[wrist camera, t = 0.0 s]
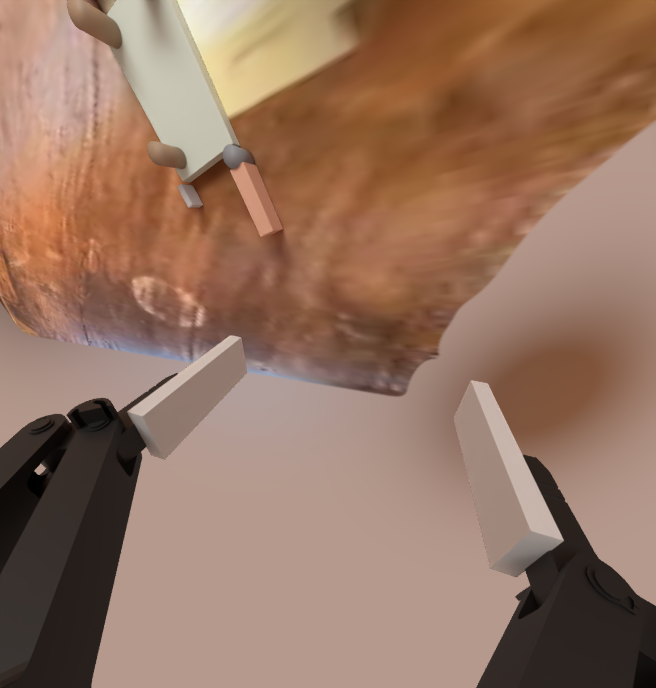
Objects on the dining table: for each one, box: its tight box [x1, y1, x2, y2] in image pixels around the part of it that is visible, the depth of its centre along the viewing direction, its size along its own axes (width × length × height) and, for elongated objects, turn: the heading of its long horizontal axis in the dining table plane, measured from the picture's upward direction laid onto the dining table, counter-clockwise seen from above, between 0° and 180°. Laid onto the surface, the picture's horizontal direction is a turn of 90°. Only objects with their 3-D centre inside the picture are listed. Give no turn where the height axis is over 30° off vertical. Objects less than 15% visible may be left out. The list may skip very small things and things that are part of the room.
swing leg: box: [223, 144, 283, 237], centre depth 35 cm, size 11×3×4 cm, turn 22°
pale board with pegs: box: [67, 0, 240, 208], centre depth 31 cm, size 22×12×6 cm, turn 22°
